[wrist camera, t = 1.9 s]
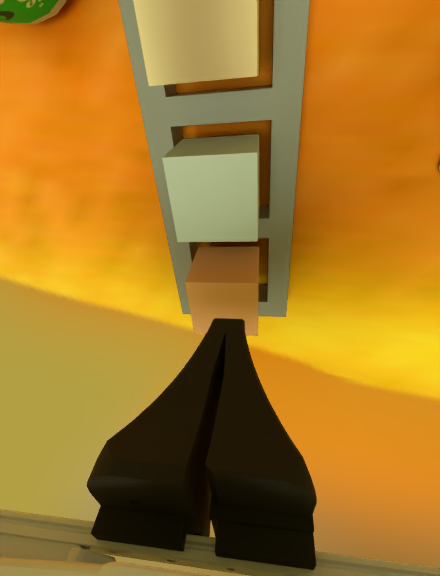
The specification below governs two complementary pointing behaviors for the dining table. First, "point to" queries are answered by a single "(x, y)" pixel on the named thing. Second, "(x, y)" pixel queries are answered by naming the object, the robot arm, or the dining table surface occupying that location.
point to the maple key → (199, 39)
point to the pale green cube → (214, 188)
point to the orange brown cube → (224, 287)
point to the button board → (226, 109)
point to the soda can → (29, 10)
